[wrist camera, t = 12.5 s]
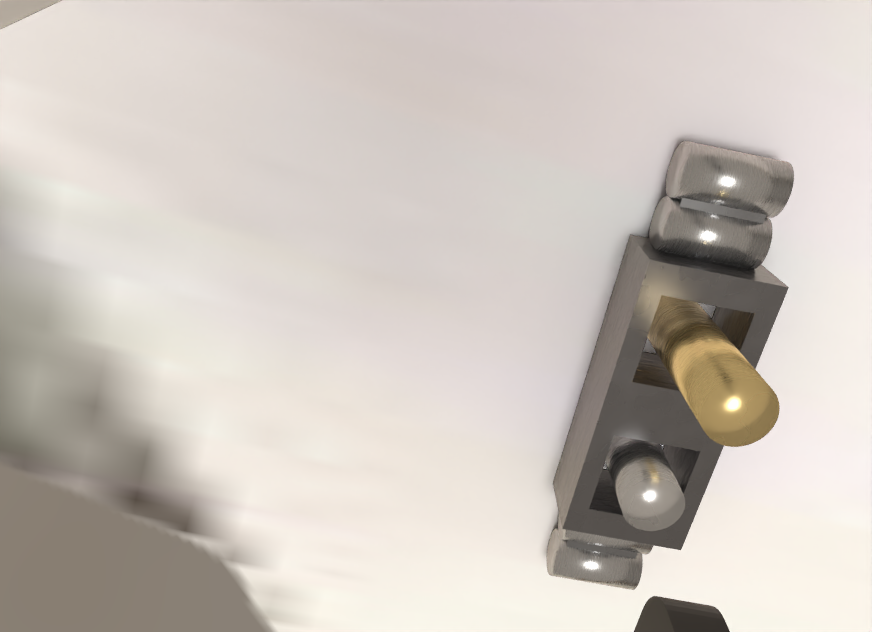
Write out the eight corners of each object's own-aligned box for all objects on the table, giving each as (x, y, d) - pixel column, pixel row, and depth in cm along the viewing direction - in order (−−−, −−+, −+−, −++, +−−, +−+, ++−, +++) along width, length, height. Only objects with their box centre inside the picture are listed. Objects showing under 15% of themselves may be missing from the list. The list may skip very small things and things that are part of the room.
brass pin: (650, 283, 37) (715, 372, 28) (707, 295, 37) (791, 387, 28) (632, 337, 38) (690, 439, 29) (687, 347, 38) (762, 452, 29)
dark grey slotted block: (662, 133, 34) (701, 156, 29) (793, 160, 34) (857, 188, 29) (531, 551, 44) (542, 630, 38) (635, 569, 44) (661, 650, 38)
